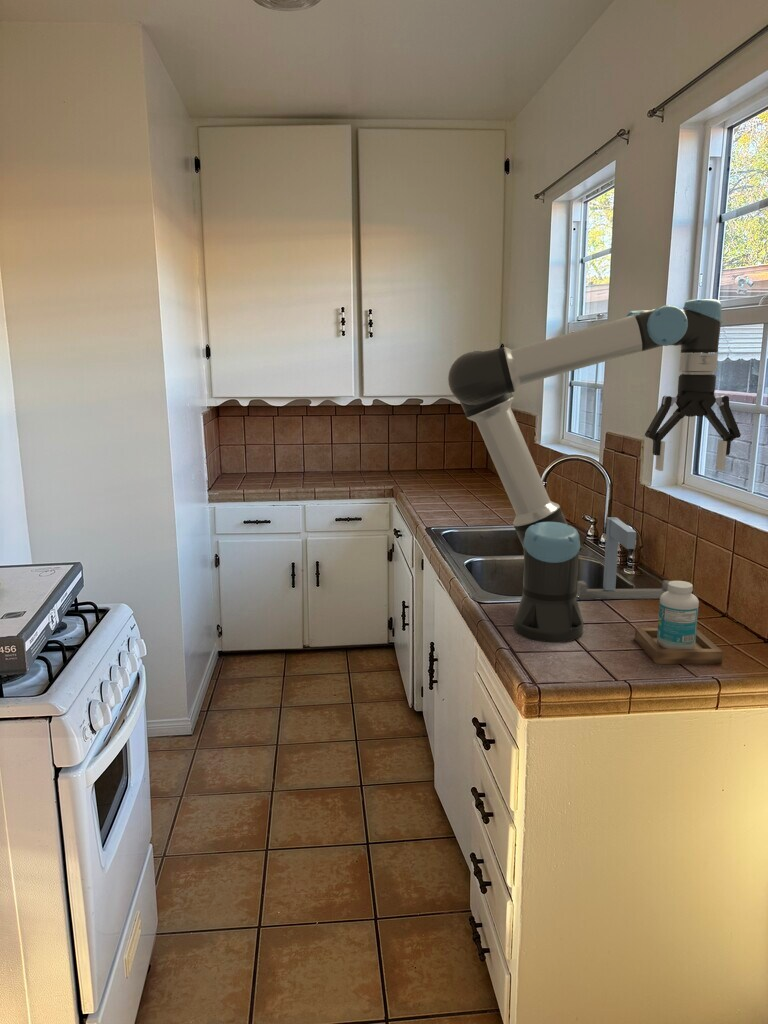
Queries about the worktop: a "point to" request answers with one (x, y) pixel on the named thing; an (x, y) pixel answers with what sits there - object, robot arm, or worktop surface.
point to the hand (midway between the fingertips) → (689, 470)
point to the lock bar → (615, 548)
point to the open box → (698, 655)
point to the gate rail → (620, 592)
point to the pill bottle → (678, 617)
